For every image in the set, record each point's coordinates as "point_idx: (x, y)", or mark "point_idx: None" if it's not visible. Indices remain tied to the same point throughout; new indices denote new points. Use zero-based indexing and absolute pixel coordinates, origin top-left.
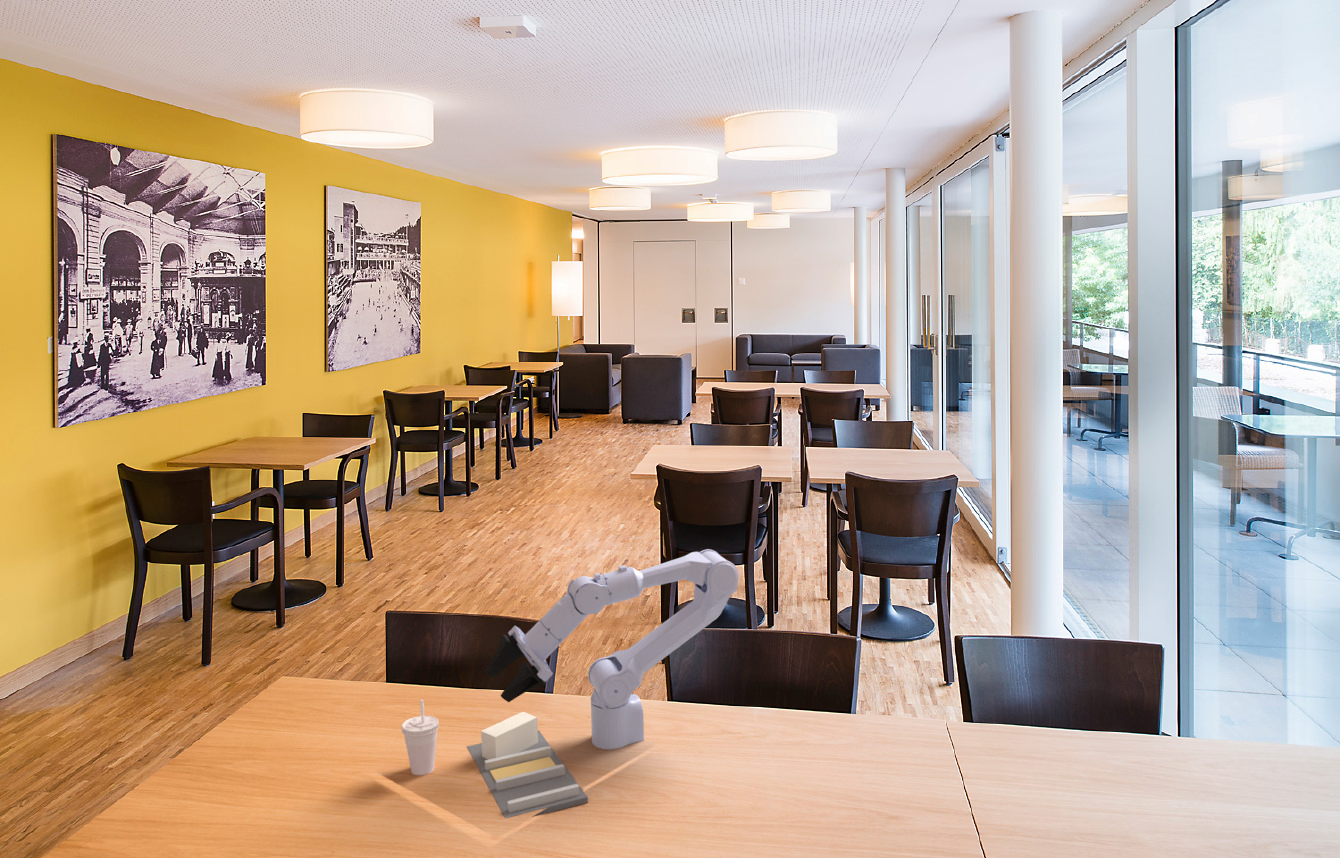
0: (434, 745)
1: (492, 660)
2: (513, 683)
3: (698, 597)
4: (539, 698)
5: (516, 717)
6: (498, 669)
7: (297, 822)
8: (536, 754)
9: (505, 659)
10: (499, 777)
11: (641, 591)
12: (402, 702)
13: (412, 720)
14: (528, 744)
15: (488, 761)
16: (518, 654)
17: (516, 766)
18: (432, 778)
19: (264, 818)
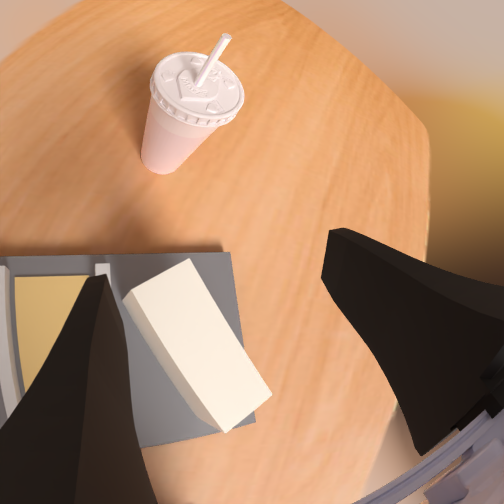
0: (161, 135)
1: (392, 251)
2: (62, 353)
3: None
4: (380, 413)
5: (242, 374)
6: (352, 298)
7: (117, 16)
8: None
9: (397, 335)
10: (46, 289)
11: None
12: (395, 202)
13: (227, 78)
14: (181, 393)
15: (100, 271)
16: (421, 415)
17: None
18: (139, 167)
19: (149, 2)
